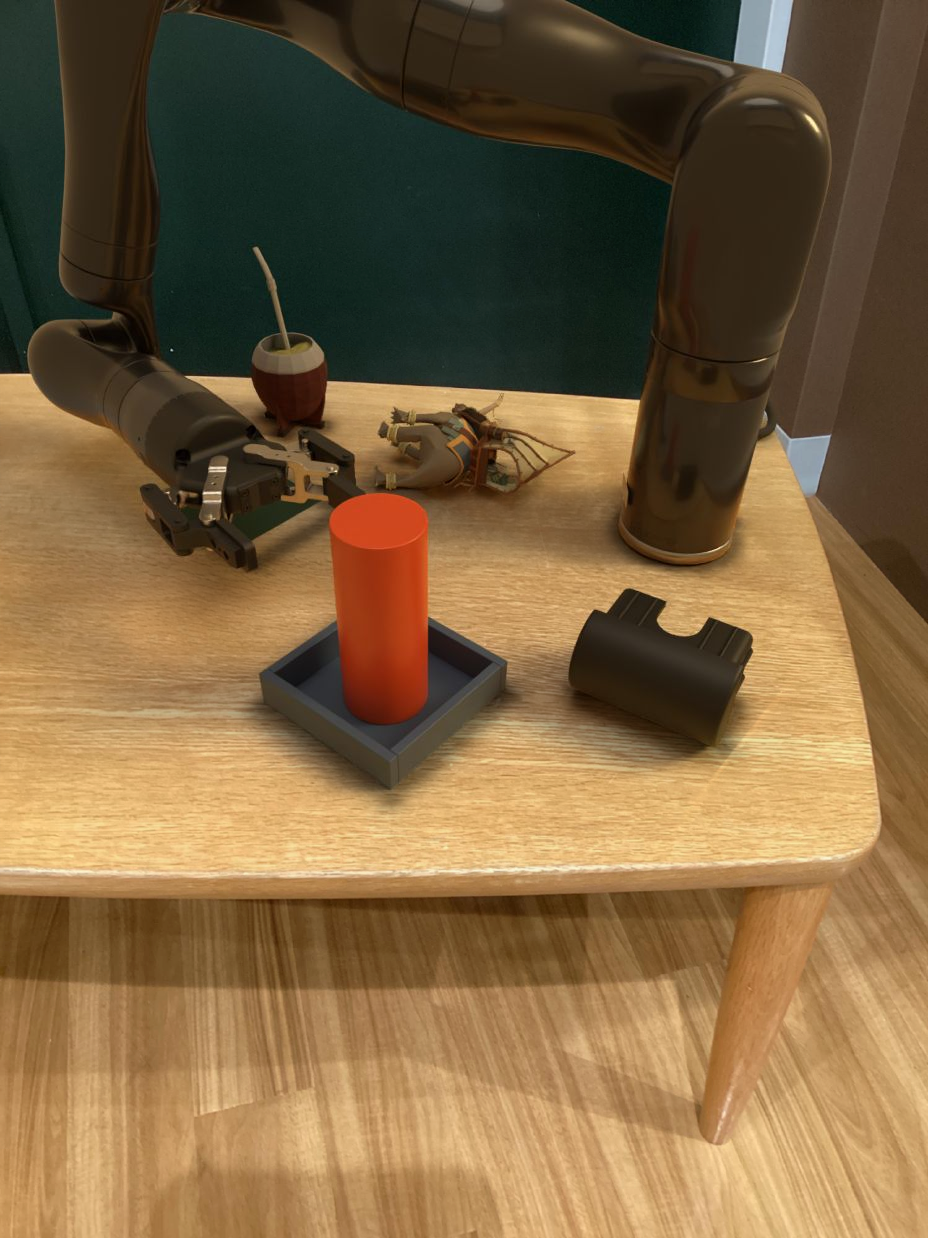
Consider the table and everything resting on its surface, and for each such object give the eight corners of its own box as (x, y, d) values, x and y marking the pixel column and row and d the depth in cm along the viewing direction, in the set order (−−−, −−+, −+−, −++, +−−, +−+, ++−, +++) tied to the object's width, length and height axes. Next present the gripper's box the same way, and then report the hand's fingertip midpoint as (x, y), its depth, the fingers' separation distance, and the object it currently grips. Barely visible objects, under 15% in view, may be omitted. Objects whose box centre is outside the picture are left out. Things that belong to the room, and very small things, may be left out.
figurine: (412, 362, 89) (587, 385, 86) (411, 421, 92) (579, 443, 90) (351, 455, 73) (563, 485, 71) (353, 521, 76) (555, 551, 74)
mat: (263, 470, 83) (263, 466, 83) (342, 511, 78) (342, 507, 78) (172, 517, 77) (171, 513, 77) (252, 565, 72) (251, 560, 72)
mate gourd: (312, 445, 87) (297, 286, 77) (237, 430, 88) (213, 273, 79) (344, 409, 92) (334, 257, 82) (272, 396, 94) (254, 245, 84)
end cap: (561, 711, 61) (571, 634, 57) (605, 650, 66) (618, 575, 61) (705, 773, 57) (728, 697, 53) (741, 704, 62) (765, 628, 58)
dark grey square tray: (382, 621, 68) (380, 589, 66) (505, 693, 62) (507, 660, 60) (263, 706, 61) (258, 673, 59) (390, 795, 56) (389, 762, 54)
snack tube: (383, 654, 64) (376, 481, 55) (445, 691, 62) (448, 517, 53) (325, 697, 61) (307, 522, 52) (388, 738, 58) (380, 561, 49)
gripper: (86, 421, 63) (202, 527, 54) (266, 365, 71) (395, 450, 61) (111, 512, 68) (221, 623, 59) (276, 451, 75) (397, 542, 66)
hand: (309, 535), depth 60 cm, fingers open, 8 cm apart
